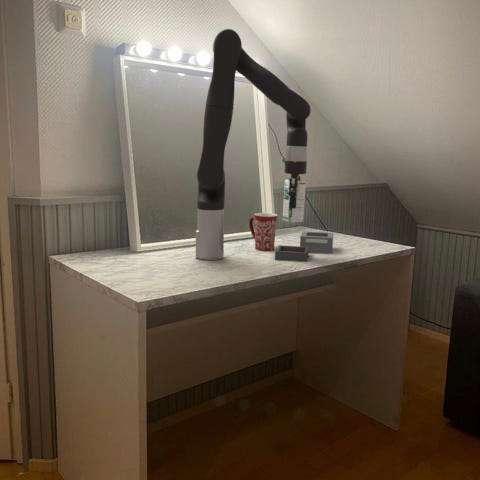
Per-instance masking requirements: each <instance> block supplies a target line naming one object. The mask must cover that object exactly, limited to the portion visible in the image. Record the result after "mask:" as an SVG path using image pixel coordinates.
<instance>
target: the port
mask: <svg viewBox="0 0 480 480" xmlns="http://www.w3.org/2000/svg"><path fill="white" fill-rule="evenodd" d="M299 238H300V241H299V247H309V253H311V254H329V255H333V246H334V232H323V231H307V230H305V231H302V232H301V235H300V237H299Z"/></svg>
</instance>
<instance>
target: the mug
mask: <svg viewBox="0 0 480 480" xmlns="http://www.w3.org/2000/svg"><path fill="white" fill-rule="evenodd" d="M278 217H279V216H278V214H276V213H271V212H257V213H253V216H252V217H250V218H249V222H248V225H249V226H248V227H249V231H250V233H251V236H252V238H253V240H254V249H255V250H257V251H260V252H261V251H262V252H264V251H265V252H270V251H275V240H276V231H277V221H278ZM253 223H254V225H253Z"/></svg>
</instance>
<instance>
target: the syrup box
mask: <svg viewBox="0 0 480 480" xmlns="http://www.w3.org/2000/svg"><path fill="white" fill-rule="evenodd" d="M289 179H290V178H288V179H285V180H284V189H283V190H284V192H283V205H282V207H283V208H282V221H285V222H287V223H304V216H305V214H304V213H305V201H306V200H305V199H306V187H307V185H306V184H307V183H306V182H307V181H306V180H301V181H299V180H298V182H297V186H298V183H299V182H300V184H299V192H297V197H295V198H296V208H290V207H289V204H290V197H289V183H290V181H289ZM291 189H292V188H291ZM291 192H294V191H291Z"/></svg>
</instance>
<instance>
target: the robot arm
mask: <svg viewBox="0 0 480 480" xmlns="http://www.w3.org/2000/svg"><path fill="white" fill-rule="evenodd" d="M212 52H213V62H212V73H211V75H212V76H211V80H210V83H209V88H208V92H207V95H206V101H205V108H204V115H203V116H204V118H203V134H202V136H203V137H202V142H203V143H202V151H201V155H200V161H199V165H198V169H197V172H196V179H197V182H198V185H197V187H198V188H197V190H198V193H197V196H198V197H197V230H195V258H196V259H200V260H205V261H206V260H207V261H209V260H210V261H216V260H222V259H224V254H225V249H224V247H225V246H224V244H225V242H224V241H225V240H224V239H225V199H226V197H225V196H226V195H225V193H226V173H225V170H224V169H225V168H224V166H225V160H224V159H225V150H226V145H227V142H228V138H229V134H230V131H231V127H232V120H233V115H234V104H235V103H234V102H235V80H236V72H238V73H239V74H240V75H242V76H243V77H244V78H245V79H247V80H248V81H249V82H250V83H251V84H252V85H253V86H254V87H256V89H257V90H259V92H261V94H263V95H264V96H265V97H266V98H268V99H269V100H270V102H272V103H274V104H275V105H276V106H279V107H280V108H282V109H283V110H284V112H285V114H286V115H285V119H286V120H285V121H286V131H287V132H286V149H285V154H284V155H285V156H284V173H285V174H287V175H290V177H289V178H288V179H289V181H290V183H289V197H290V204H289V207H290V208H296V198H295V197H297V192H299V184H300V182H299V183H298V186H297V182H298V180H299V181H302V179H301V176H300V175H306V174H307V169H308V168H307V166H308V131H307V129H306V120H307V119H308V118H309V117H310V115H311V111H312V110H311V105H310V104H309V102H308V101H307V100H306V98H304V97H302V96H301V95H300V94H298V93H297V92H295V91H294V90H293V89H291V88H290V87H288V86H287V84H286V83H284V82H283V81H282V80H281V79H280V78H279V77H278V76H276V75H275V74H274V73H273V72H272V71H270V70H269V69H267V68H266V67H265V66H264V67H263V65H261V64H260V63H258V62H257V61H255V59H253V58H252V57H251V56H250V55H249V54H248V53H247V51H246V50H244V48H243V46H242V40H241V37H240V35H239V34H238V33H237V32H236V31H235V30H234V29H232V28H224V29H222V30H220V31H219V32H218V33H217V34H216V35H215V36H214V38H213V42H212ZM291 188H292V189H291ZM291 191H294V192H291Z"/></svg>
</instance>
